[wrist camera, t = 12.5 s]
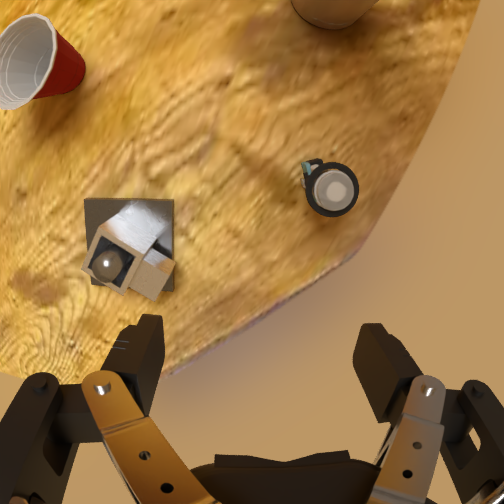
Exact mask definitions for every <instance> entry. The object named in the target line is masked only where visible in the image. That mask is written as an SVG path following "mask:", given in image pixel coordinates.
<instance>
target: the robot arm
mask: <svg viewBox="0 0 504 504" xmlns="http://www.w3.org/2000/svg"><path fill="white" fill-rule="evenodd" d="M291 1H292V4H293V6H294V8H295V10H296V11H297V12H298V14H299V15H300V16H301V17H302V18H303V19H305V20H306V21H308V22H309V23H311V24H313V25H315V26H317V27H321V28H324V29H332V30H335V29H343V28H346V27H348V26H350V25H352V24H353V23H354V22H355V21H356V20H357V19H358V18H360V17H361V16H362V15H363V14H364V13H365V12H366V11H368V10H369V9H370V8H371V7H372V6H373V5H374V4H375V3H377V2H378V1H379V0H291ZM164 358H165V343H164V331H163V319H162V316H161V315H151V314H142V316H141V318H140V320H139V322H138V324H137V326H136V325H129V326H127V327H126V328H125V329H123V330H122V331H121V332H120V333H119V335H118V337H117V339H116V341H115V343H114V345H113V348H111V350H110V352H109V354H108V356H107V358H106V360H105V361H104V363H103V365H102V367H101V369H100V371H95V372H92V373H90V374H89V375H87V376H86V377H85V378H84V379H83V381H82V383H81V384H66V385H60V384H59V382H58V379H57V378H56V377H55V376H54V375H52V374H50V373H46V372H40V373H35V374H33V375H31V376H29V377H28V378H27V379H26V380H25V381H24V382H23V384H22V386H21V387H20V389H19V391H18V392H17V394H16V395H15V397H14V399H13V401H12V402H11V404H10V406H9V408H8V409H7V411H6V413H5V415H4V417H3V418H2V420H1V422H0V504H62V500H63V497H64V493H65V490H66V486H67V483H68V479H69V476H70V472H71V469H72V466H73V462H74V459H75V456H76V453H77V450H78V447H79V444H80V443H90V442H103V445H104V447H105V449H106V451H107V453H108V454H109V456H110V458H111V460H112V462H113V464H114V466H115V468H116V469H117V471H118V473H119V475H120V477H121V478H122V480H123V482H124V484H125V486H126V488H127V489H128V491H129V493H130V495H131V496H132V498H133V499H134V501H135V503H136V504H437V503H435V502H434V501H432V500H430V499H429V498H427V494H428V490H429V487H430V484H431V480H432V477H433V474H434V470H435V466H436V463H437V459H438V455H439V451H440V453H441V455H442V457H443V460H444V462H445V464H446V466H447V468H448V471H449V473H450V476H451V478H452V480H453V483H454V485H455V488H456V490H457V493H458V495H459V498H460V500H461V503H462V504H504V408H503V406H502V405H501V403H500V402H499V400H498V399H497V398H496V396H495V395H494V394H493V392H492V391H491V389H490V388H489V387H488V386H487V385H486V384H485V383H483V382H480V381H478V380H469V381H467V382H465V384H464V385H463V387H462V389H461V390H451V389H446V388H445V386H444V384H443V383H442V382H441V381H440V380H438V379H437V378H435V377H432V376H429V375H424V374H423V373H422V371H421V370H420V369H419V367H418V366H417V364H416V363H415V361H414V360H413V358H412V357H411V356H410V354H409V353H408V351H407V350H406V348H405V347H404V346H403V344H402V343H401V341H400V340H398V339H397V338H396V337H394V336H393V335H392V334H388V332H387V331H386V329H385V328H384V327H383V325H382V324H381V323H365V324H363V325H362V326H361V329H360V332H359V336H358V340H357V343H356V346H355V350H354V353H353V367H354V369H355V372H356V374H357V376H358V378H359V380H360V383H361V385H362V387H363V389H364V391H365V394H366V396H367V398H368V401H369V403H370V405H371V407H372V409H373V412H374V414H375V416H376V419H377V421H378V423H384V422H390V424H391V426H390V428H389V429H388V431H387V434H386V436H385V438H384V441H383V443H382V445H381V447H380V449H379V452H378V454H377V456H376V458H375V460H374V462H373V464H371V463H368V462H365V461H361V460H356V459H350V456H349V452H348V450H344V451H335V452H325V453H317V454H313V455H310V456H306V457H303V458H299V459H296V460H292V461H287V462H280V461H274V460H268V459H263V458H258V457H253V456H247V455H244V456H243V455H219V454H215V460H214V463H212V464H207V465H203V466H199V467H196V468H193V469H191V470H189V469H188V468H187V466H186V465H185V464H184V463H183V461H182V460H181V459H180V457H179V456H178V455H177V453H176V452H175V451H174V449H173V448H172V447H171V446H170V444H169V443H168V441H167V440H166V439H165V437H164V436H163V434H162V433H161V432H160V430H159V429H158V427H157V426H156V424H155V423H154V421H153V420H152V419H151V418H150V417H149V412H150V408H151V405H152V401H153V398H154V394H155V390H156V387H157V384H158V380H159V377H160V373H161V370H162V366H163V363H164ZM473 427H474V429H475V431H476V432H477V434H478V436H479V438H480V441H481V445H480V449H479V451H478V450H477V448H476V446H475V445H474V443H473V441H472V439H471V437H470V435H469V432H470V431H471V429H472V428H473Z"/></svg>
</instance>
